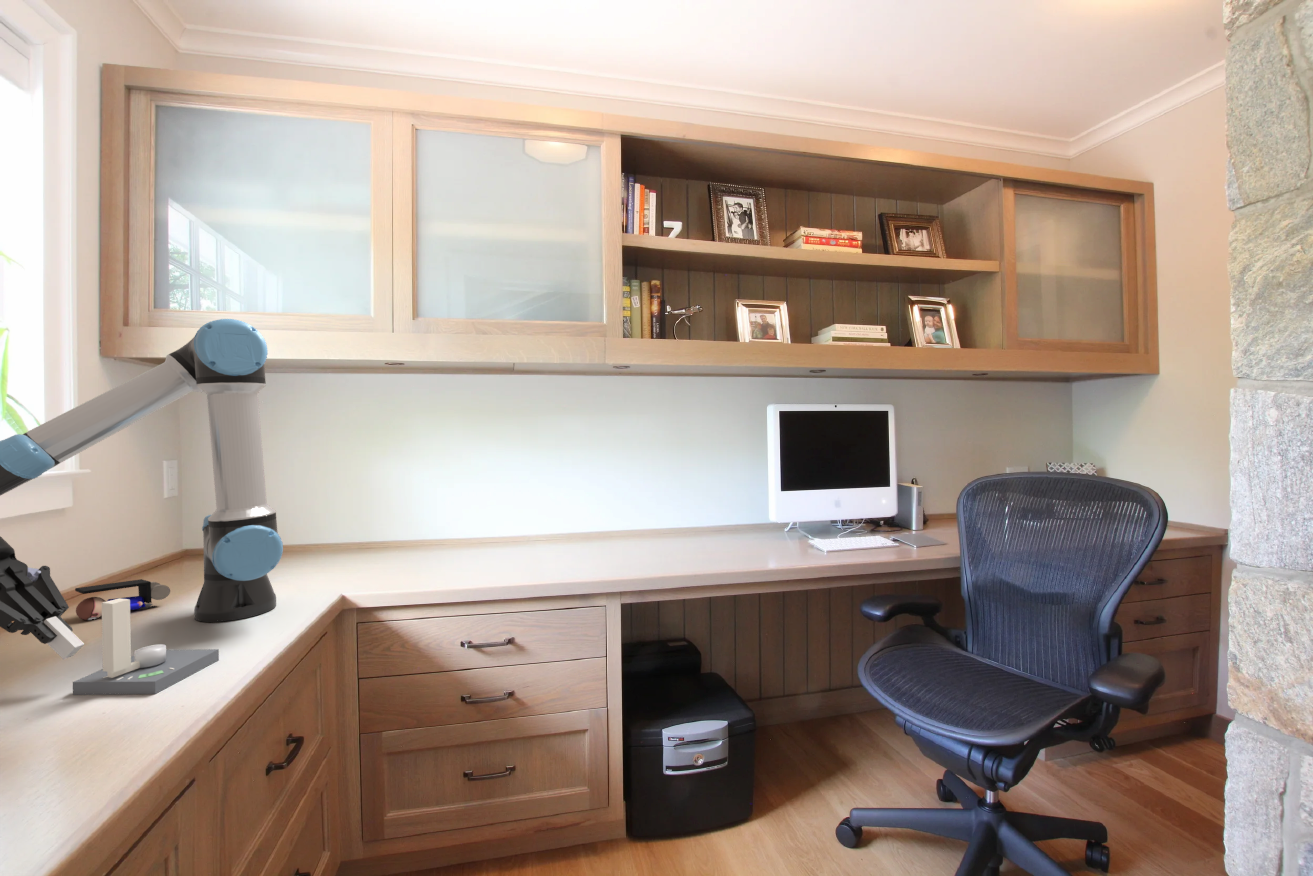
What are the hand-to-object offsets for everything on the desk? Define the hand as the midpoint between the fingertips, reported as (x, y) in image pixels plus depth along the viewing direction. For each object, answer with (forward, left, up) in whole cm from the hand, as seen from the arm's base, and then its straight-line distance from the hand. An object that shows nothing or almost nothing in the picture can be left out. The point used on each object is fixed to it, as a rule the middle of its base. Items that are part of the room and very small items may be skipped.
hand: (74, 651), depth 90 cm
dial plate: (-5, +8, -6) cm, 11 cm away
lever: (-3, +8, -4) cm, 9 cm away
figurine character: (-39, -28, -6) cm, 48 cm away
